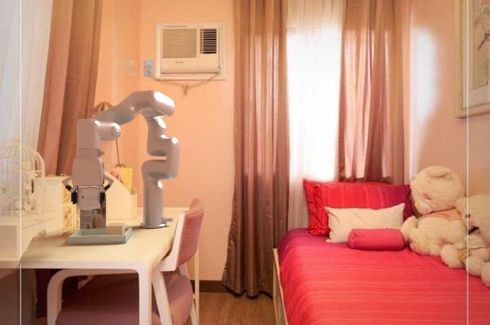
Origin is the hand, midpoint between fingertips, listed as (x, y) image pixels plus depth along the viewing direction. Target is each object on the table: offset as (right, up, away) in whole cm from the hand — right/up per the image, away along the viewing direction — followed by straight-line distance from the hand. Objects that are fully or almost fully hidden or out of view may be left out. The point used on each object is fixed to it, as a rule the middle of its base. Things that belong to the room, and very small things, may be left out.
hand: (88, 203), depth 114 cm
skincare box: (0, -2, 0) cm, 2 cm away
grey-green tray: (0, -16, +12) cm, 20 cm away
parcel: (+5, -16, +13) cm, 21 cm away
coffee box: (-10, -16, +24) cm, 30 cm away
